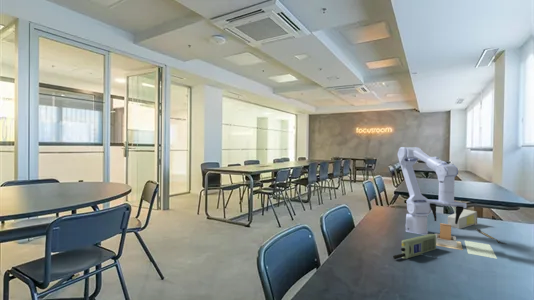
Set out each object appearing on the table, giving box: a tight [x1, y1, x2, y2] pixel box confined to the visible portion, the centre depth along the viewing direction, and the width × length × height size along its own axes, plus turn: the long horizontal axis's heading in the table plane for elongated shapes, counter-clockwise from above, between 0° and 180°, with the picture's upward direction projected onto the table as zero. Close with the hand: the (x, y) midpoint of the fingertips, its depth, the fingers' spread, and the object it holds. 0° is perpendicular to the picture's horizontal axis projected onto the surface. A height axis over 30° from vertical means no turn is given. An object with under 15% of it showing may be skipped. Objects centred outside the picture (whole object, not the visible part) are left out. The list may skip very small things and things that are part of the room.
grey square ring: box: [434, 233, 457, 248], centre depth 120 cm, size 8×8×2 cm
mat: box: [464, 240, 498, 260], centre depth 113 cm, size 9×18×1 cm, turn 147°
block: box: [447, 208, 478, 230], centre depth 151 cm, size 19×8×8 cm, turn 118°
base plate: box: [436, 241, 464, 251], centre depth 120 cm, size 12×12×1 cm
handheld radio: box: [393, 233, 437, 260], centre depth 108 cm, size 7×3×25 cm
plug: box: [439, 222, 452, 240], centre depth 120 cm, size 4×4×8 cm
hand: (445, 222), depth 119 cm, fingers open, 7 cm apart
